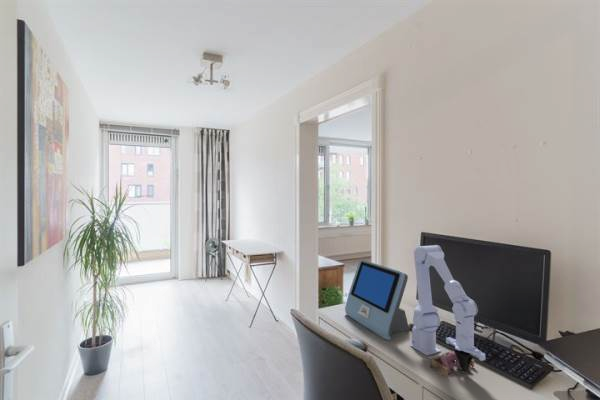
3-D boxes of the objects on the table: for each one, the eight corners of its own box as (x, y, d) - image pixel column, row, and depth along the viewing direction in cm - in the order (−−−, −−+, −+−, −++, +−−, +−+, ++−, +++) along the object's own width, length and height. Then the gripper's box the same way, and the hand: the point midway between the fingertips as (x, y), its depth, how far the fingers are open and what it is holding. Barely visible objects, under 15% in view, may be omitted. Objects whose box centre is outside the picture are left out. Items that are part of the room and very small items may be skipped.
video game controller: (466, 371, 120) (460, 350, 123) (473, 371, 116) (467, 350, 119) (441, 373, 119) (437, 352, 122) (448, 373, 114) (443, 352, 117)
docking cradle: (430, 367, 120) (430, 359, 120) (457, 358, 126) (457, 351, 126) (446, 377, 113) (446, 368, 113) (474, 367, 119) (474, 360, 119)
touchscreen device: (342, 315, 172) (343, 259, 172) (371, 310, 180) (373, 258, 180) (384, 342, 140) (386, 274, 140) (417, 335, 148) (419, 271, 148)
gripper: (440, 327, 119) (440, 363, 120) (475, 344, 106) (475, 384, 106) (453, 324, 122) (453, 359, 123) (489, 340, 109) (489, 379, 109)
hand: (464, 370), depth 115 cm, fingers closed
